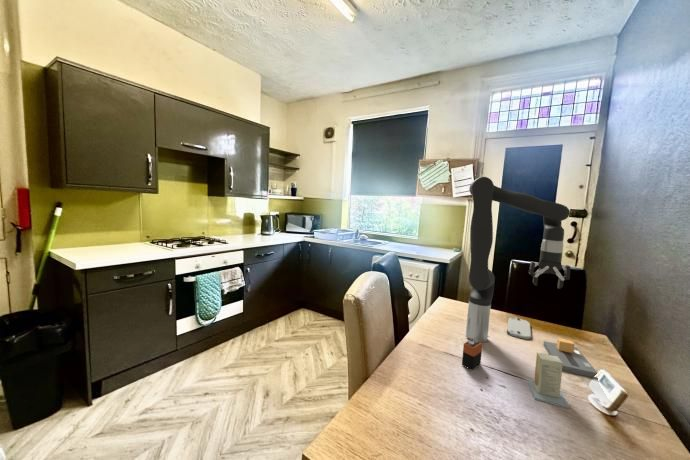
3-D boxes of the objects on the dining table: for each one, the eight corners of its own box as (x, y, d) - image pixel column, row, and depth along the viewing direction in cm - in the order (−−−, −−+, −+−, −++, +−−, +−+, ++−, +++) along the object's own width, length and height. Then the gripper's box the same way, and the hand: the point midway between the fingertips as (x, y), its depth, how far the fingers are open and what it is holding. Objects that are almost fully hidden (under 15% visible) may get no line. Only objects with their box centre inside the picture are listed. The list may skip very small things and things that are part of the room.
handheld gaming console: (531, 336, 125) (507, 330, 130) (531, 342, 125) (506, 335, 130) (529, 319, 144) (508, 314, 149) (529, 324, 144) (507, 319, 150)
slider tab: (573, 353, 111) (574, 344, 111) (558, 350, 113) (559, 341, 113) (570, 349, 114) (571, 340, 114) (556, 346, 116) (557, 338, 116)
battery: (461, 365, 104) (463, 340, 103) (470, 359, 108) (472, 336, 107) (472, 371, 100) (474, 346, 99) (480, 365, 104) (483, 340, 103)
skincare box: (554, 390, 91) (559, 356, 89) (559, 398, 86) (564, 363, 85) (532, 384, 93) (536, 351, 92) (536, 393, 89) (540, 358, 87)
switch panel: (597, 378, 99) (598, 373, 99) (557, 369, 104) (558, 364, 103) (576, 351, 117) (576, 347, 117) (543, 345, 122) (543, 340, 122)
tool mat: (534, 399, 87) (534, 397, 87) (527, 380, 96) (527, 379, 96) (569, 408, 83) (569, 406, 83) (558, 388, 92) (558, 387, 92)
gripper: (534, 249, 115) (529, 286, 116) (575, 253, 109) (570, 291, 111) (530, 247, 122) (526, 282, 123) (568, 250, 116) (564, 287, 118)
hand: (547, 286), depth 117 cm, fingers open, 8 cm apart
